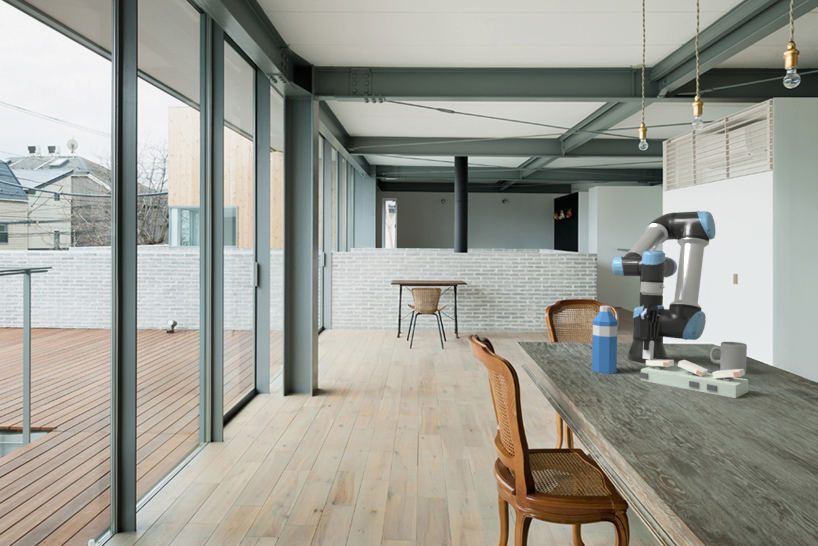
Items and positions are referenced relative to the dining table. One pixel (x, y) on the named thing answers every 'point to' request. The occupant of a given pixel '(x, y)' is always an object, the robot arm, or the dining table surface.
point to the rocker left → (660, 362)
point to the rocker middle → (692, 367)
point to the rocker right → (728, 373)
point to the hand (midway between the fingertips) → (647, 358)
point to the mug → (731, 355)
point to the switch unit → (695, 381)
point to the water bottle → (604, 342)
